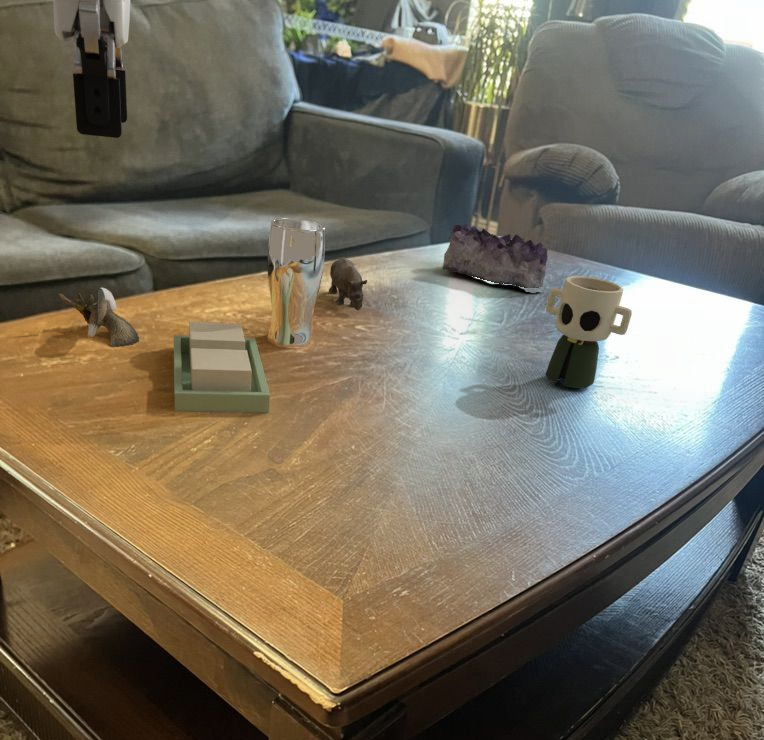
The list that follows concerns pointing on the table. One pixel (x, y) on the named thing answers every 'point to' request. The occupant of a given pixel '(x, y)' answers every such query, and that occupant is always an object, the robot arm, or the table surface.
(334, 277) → the rhino figurine
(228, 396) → the frame tray
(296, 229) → the beer glass
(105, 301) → the deer head bust
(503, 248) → the geode
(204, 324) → the beige block
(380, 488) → the table surface
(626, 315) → the character mug
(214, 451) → the table surface
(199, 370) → the light grey rectangular block
